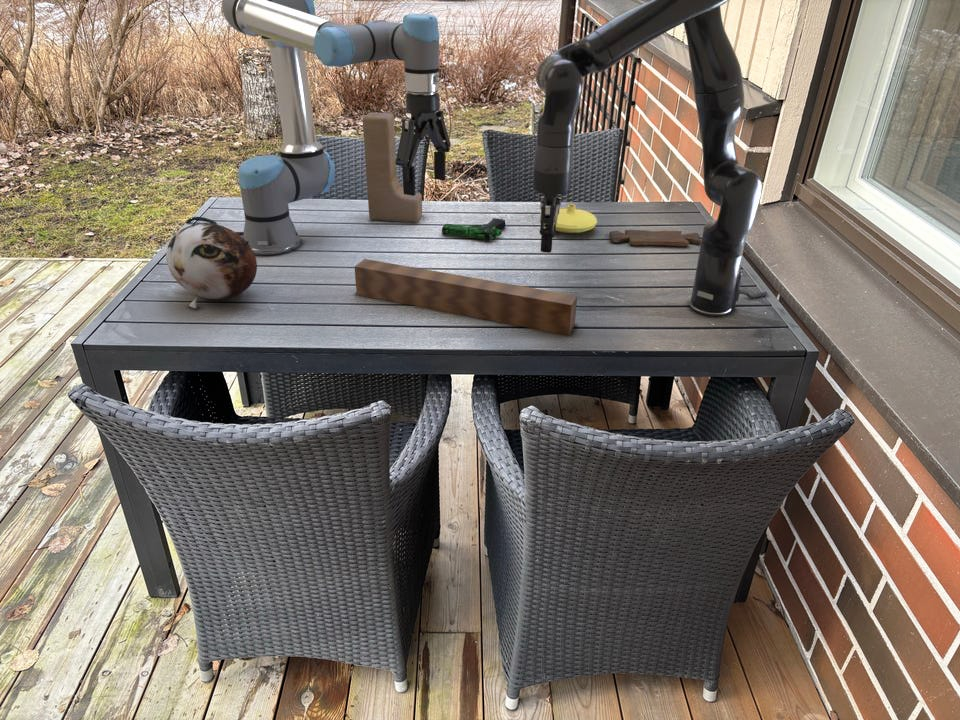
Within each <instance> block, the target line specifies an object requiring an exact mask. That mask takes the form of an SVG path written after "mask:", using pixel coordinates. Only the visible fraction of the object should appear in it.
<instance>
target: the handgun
mask: <svg viewBox="0 0 960 720" xmlns="http://www.w3.org/2000/svg"><path fill="white" fill-rule="evenodd" d="M505 228H506V220H505V219H503V218H497V217H492V219H491V220H490V221H489V222H488V223H483V224H482V225H479V224H472V225H459V224H453V223H445V224H443V226H442V227H441V235H446V236H454V237H462V238H469V239H470V238H471V239H474V240H479V241H484V242H491V241H492V240H494V239H495V238H497V237H500V236H502V230H504V229H505Z"/></svg>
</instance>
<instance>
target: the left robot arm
mask: <svg viewBox="0 0 960 720" xmlns="http://www.w3.org/2000/svg"><path fill="white" fill-rule="evenodd" d="M221 9H222V13H223V16H224V18H225V20H226V22H227V23H228V25H229V26H230V27H231V28H233V29H234V30H235V31H237V32H238V33H241V34H243V35H246V36H249V37H253V38H255V37H256V38H257V37H260V38H261V41H263V42H264V44H266V45H267V46H268V48H269V55H270V61H271V67H272V72H273V73H272V75H273V81H274V87H275V93H276V100H277V105H278V106H277V107H278V112H279V119H280V126H281V131H282V138H283V144H282V145H281V146H280V147H279V150H278V151H279V155H276V154H264V155H257V156H253V157H251V158H248V159H246V160H244V161H242V162H241V163H240V164H239V166H238V168H237V169H238V170H237V174H238V185H239V190H240V196H241V201H242V208H243V212H244V213H243V215H244V219H245V220H244V226H243V228H244V229H243V231H235V232H236V233H237V234H239V235H240V236H242V237H243V238H244V239H245V240H246V241H249V242H248V244H249V245H250V247H251V248H252V250H253V252H254V254H255V256H256V255H257V256H275V255H281V254H282V255H283V254H285V253H289V252H291V251H293V250H296V249H297V248H298V247H299V246H300V244H301V241H300V235H299V233H298V231H297V229H296V227H295V225H294V223H293V220H292V218H291V216H290V207H289V204H291V203H295V202H298V201H301V200H305V199H309V198H313V197H317V196H320V195H321V194H324V193H326V192H328V191H329V190H330V189H331V188H332V187H333V184H334V183H335V179H336V167H335V163H334V161H333V160H332V159H331V158H332V157H331V155H330V154H329V153H328V152H327V151H325V150H324V147H323V144H321V142H319V141H318V140H317V135H316V127H315V121H314V114H313V106H312V98H311V90H310V83H309V77H308V76H309V75H308V67H307V61H306V53H305V52H307V53H310V54H312V55H315V57H316V58H317V59H318V60H319V61H320V62H321V64H322V65H323V66H326V67H328V68H329V67H330V68H331V67H339V68H342V67H345V66H350V65H356V64H357V65H358V64H363V63H369V62H370V63H371V62H377V61H384V60H385V61H386V60H395V61H402V62H404V63H403V64H404V90H405V91H406V94H405V108H406V109H405V110H406V111H407V112H409V113H410V119H405V118H403V119H402V120H401V134H400V140H399V143H398V147H397V153H396V162H395V163H396V166H399V167H401V173H402V175H401V176H402V187H403V189H404V194H407V195H412V196H414V195H415V192H416V172H415V171H416V169H415V166H414V165H413V163H414V161H415V158H416V155H417V152H418V150H419V147H420V144H421V142H422V141H423V140H424V138H425V137H427V136H428V139H429V140H430V141H431V143H432V145H433V147H434V149H435V151H434V152H433V174H434V175H433V177H434V180H438V181H443V182H445V181H446V174H447V173H446V153H450V150H451V146H452V144H451V140H450V136H449V133H448V129H447V126H446V123H445V117H444V116H445V115H444V110H443V109H441V97H440V96H441V94H440V93H439V91H440V81H441V79H440V32H439V30H440V29H439V19H438V18H437V16H435V15H434V14H430V13H409V14H405V15H404V16H403V17H402V22H394V21H387V20H386V19H385V20H384V19H380V20H377V19H376V20H370V21H368V22H367V23H358V24H342V23H338V22H335V21H332V20H330V19H326V18H323V17H320V16H318V15H316V8H315V3H314V0H221ZM191 218H192V219H191ZM193 221H202V222H207V223H208V224H216V225H218V224H217V222H216V221H215V220H213V219H211V218H207V217H204V216H192V217H189V218H188V219H187V220H186V221H185V224H190V223H191V222H193Z"/></svg>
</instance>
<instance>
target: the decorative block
mask: <svg viewBox="0 0 960 720" xmlns="http://www.w3.org/2000/svg"><path fill="white" fill-rule="evenodd" d="M395 129H396V128H395V115H394V113H392V112H375V111H374V112H373V111H371V112H368V113H367V114H366V115H364V116H363V117H362V132H363V133H362V134H363V146H364V147H363V148H364V161H365V174H366V175H365V176H366V189H367V191H366V192H367V205H368V206H367V207H368V217H369V220H373V221H388V222H403V223H404V222H405V223H419V220H420V219H421V217H422V216H423V195H422V194H421V193H420V192H416V191H415V195H414V196H412V195H407V194H404V189H403V185H401V183H400V180H399V178H398V176H397V174H398V171H397V165H396V163H395V162H396V157H397V153H396V132H395Z"/></svg>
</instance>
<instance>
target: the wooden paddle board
mask: <svg viewBox="0 0 960 720" xmlns="http://www.w3.org/2000/svg"><path fill="white" fill-rule="evenodd" d="M608 235H609V239H610V241H611V243H614V244H620V243H625V242H628V243H629V245H630V246H648V245H649V246H676V247H686V246H687V247H688V246H690V245H689V244H690V243H691V244H696V245H701V237H700V234H699V233H697V232H692V233H685V234H682V230H643V229H642V230H640V229H624V232H621V231H619V230H611V231H609V233H608Z"/></svg>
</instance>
